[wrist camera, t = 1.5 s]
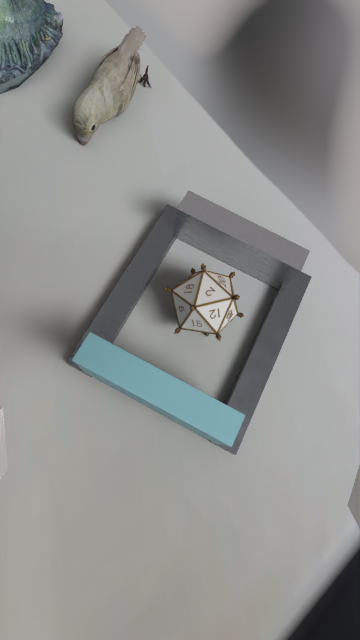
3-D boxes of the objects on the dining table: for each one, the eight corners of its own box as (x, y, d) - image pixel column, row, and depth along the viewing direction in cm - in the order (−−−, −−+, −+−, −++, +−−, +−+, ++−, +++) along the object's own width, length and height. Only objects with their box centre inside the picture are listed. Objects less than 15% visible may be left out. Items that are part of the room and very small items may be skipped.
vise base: (69, 364, 39) (56, 354, 33) (167, 211, 47) (170, 181, 41) (232, 453, 38) (247, 458, 32) (306, 281, 45) (329, 260, 40)
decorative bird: (65, 138, 49) (52, 89, 42) (125, 72, 54) (122, 18, 47) (98, 155, 49) (90, 109, 41) (155, 87, 54) (156, 35, 47)
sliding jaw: (85, 372, 37) (71, 360, 30) (99, 349, 38) (89, 331, 31) (215, 443, 36) (231, 447, 30) (227, 417, 37) (245, 415, 30)
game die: (186, 311, 46) (179, 242, 41) (248, 319, 44) (251, 247, 38) (161, 354, 40) (148, 280, 34) (233, 367, 37) (233, 289, 31)
